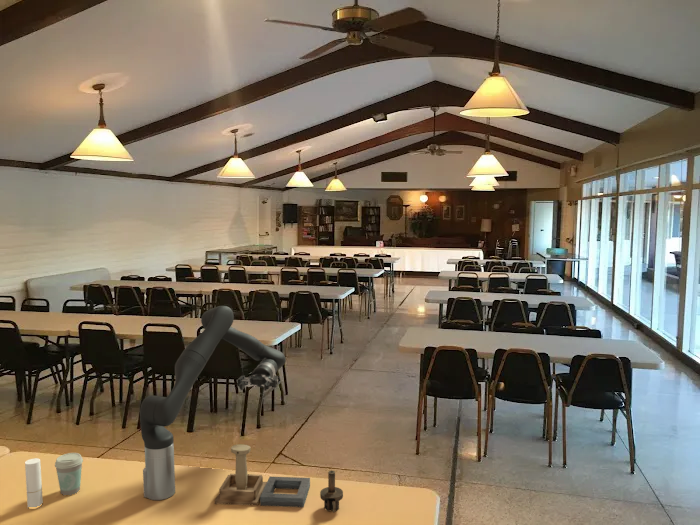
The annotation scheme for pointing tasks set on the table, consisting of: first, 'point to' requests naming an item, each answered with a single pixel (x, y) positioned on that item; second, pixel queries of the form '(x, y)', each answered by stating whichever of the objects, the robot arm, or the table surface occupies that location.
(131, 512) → the table surface
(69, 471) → the coffee cup
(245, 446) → the handle
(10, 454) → the table surface
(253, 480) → the tray
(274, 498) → the socket block
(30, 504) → the tube
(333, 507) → the industrial component
